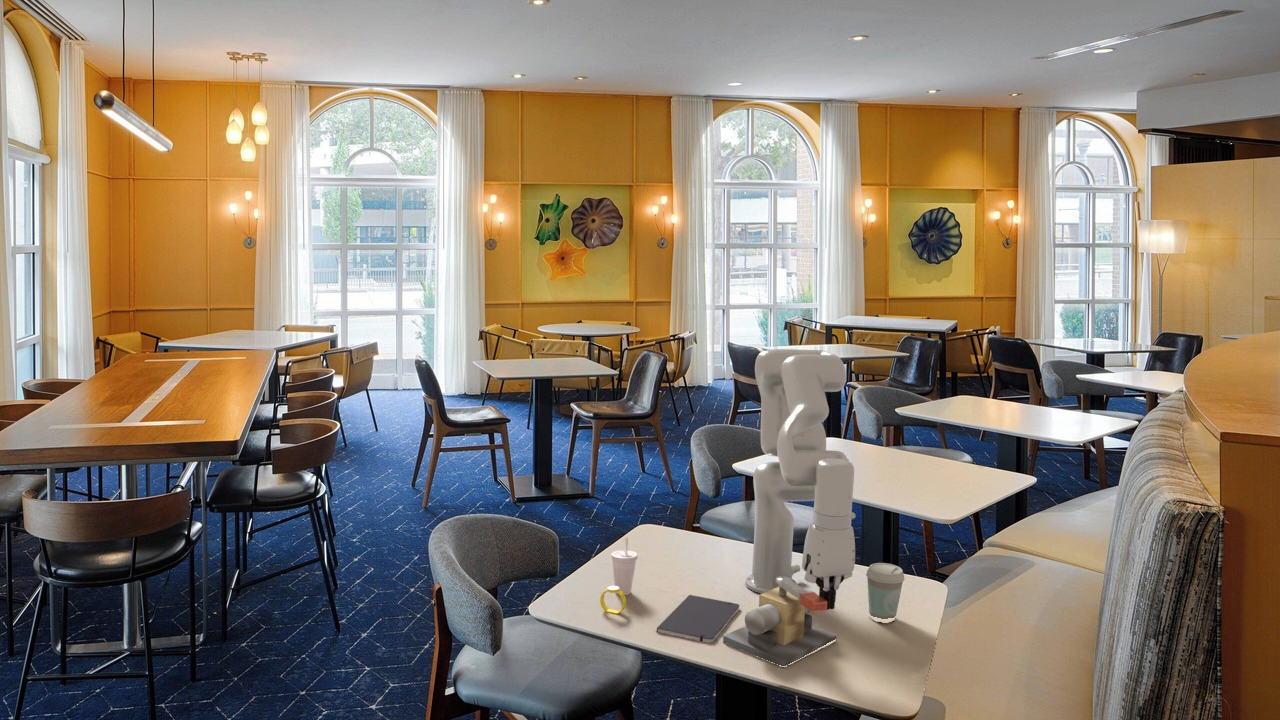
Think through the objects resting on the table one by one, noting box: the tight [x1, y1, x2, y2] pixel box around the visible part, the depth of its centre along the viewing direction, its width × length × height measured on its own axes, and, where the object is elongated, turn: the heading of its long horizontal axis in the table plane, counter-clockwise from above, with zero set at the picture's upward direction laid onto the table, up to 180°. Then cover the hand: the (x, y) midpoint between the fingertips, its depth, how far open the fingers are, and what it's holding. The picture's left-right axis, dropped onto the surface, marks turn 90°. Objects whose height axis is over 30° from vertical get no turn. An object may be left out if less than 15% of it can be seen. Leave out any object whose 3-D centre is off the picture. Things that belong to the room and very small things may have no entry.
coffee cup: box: [865, 562, 905, 619], centre depth 215 cm, size 9×8×12 cm
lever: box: [776, 576, 828, 613], centre depth 193 cm, size 16×3×2 cm, turn 23°
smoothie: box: [610, 536, 638, 596], centre depth 225 cm, size 6×6×14 cm
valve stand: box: [722, 587, 837, 666], centre depth 200 cm, size 19×16×12 cm
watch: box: [599, 585, 627, 615], centre depth 213 cm, size 6×3×6 cm, turn 68°
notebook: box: [656, 594, 740, 644], centre depth 211 cm, size 13×2×21 cm
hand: (826, 606), depth 191 cm, fingers closed
